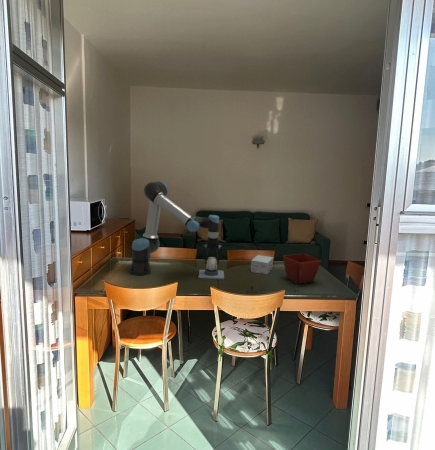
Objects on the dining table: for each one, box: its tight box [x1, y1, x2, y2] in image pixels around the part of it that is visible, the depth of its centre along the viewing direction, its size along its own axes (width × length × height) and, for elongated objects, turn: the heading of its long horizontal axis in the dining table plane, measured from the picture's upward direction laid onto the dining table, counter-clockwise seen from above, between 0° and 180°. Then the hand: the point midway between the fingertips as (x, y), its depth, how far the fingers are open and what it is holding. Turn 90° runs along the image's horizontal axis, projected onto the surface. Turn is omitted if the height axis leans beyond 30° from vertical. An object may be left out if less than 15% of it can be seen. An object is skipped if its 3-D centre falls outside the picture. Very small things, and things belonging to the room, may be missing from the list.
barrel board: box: [197, 269, 225, 280], centre depth 243 cm, size 18×16×4 cm
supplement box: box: [250, 254, 274, 275], centre depth 259 cm, size 17×13×9 cm
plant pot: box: [282, 253, 322, 284], centre depth 239 cm, size 19×19×17 cm
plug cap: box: [207, 256, 217, 270], centre depth 242 cm, size 6×6×8 cm
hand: (211, 268), depth 242 cm, fingers closed on plug cap, 6 cm apart
